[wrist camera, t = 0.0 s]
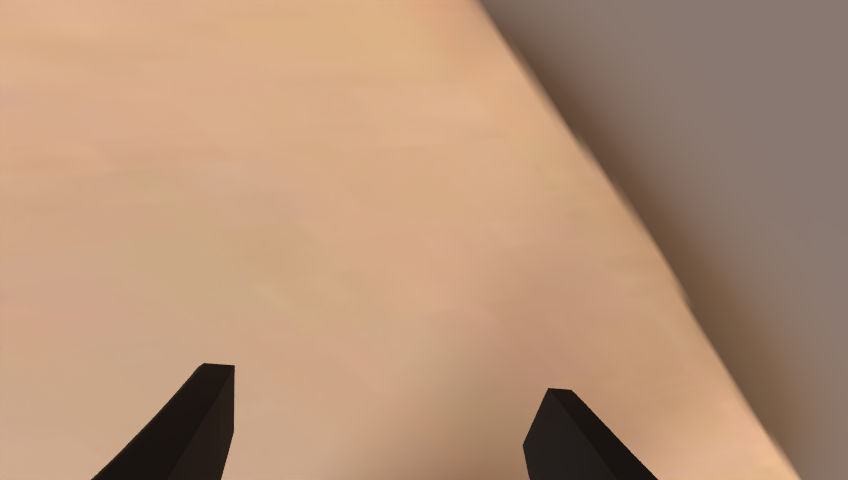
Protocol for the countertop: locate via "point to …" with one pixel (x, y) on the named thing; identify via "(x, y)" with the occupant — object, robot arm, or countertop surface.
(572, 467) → the robot arm
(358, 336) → the countertop surface
